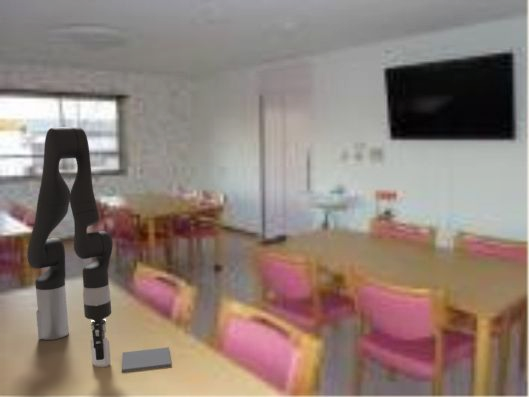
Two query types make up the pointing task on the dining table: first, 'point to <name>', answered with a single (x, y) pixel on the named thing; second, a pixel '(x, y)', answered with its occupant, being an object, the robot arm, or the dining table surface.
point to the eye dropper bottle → (106, 360)
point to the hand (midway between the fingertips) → (100, 354)
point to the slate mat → (146, 359)
